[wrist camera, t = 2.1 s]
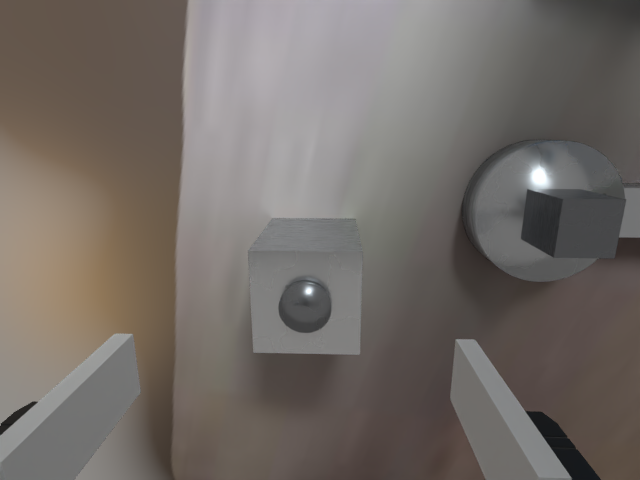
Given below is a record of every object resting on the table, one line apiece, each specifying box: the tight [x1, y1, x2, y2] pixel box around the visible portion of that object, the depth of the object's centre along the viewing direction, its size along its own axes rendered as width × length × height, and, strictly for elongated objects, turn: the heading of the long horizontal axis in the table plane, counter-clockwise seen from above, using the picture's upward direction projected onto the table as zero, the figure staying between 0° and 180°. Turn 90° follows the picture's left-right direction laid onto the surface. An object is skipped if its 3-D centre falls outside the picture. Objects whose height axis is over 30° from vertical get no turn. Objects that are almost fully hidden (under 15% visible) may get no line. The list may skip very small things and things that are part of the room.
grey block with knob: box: [248, 218, 363, 355], centre depth 25 cm, size 6×6×9 cm
